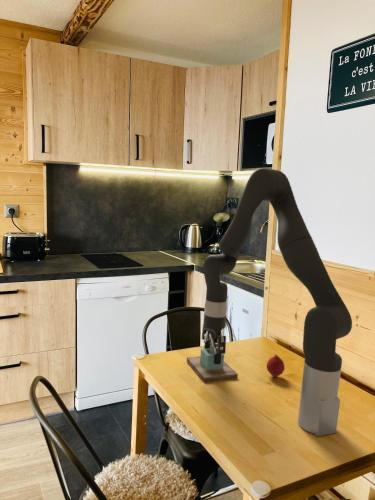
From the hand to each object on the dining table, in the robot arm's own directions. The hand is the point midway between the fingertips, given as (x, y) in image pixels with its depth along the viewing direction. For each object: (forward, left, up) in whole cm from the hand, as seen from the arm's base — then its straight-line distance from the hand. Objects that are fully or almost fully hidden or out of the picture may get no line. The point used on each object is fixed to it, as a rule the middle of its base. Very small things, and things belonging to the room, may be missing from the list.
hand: (212, 358), depth 138 cm
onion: (-10, -19, -4) cm, 22 cm away
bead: (0, 0, -2) cm, 2 cm away
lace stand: (0, 0, -4) cm, 4 cm away
